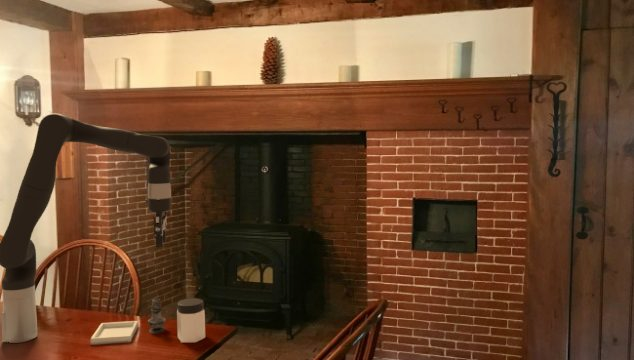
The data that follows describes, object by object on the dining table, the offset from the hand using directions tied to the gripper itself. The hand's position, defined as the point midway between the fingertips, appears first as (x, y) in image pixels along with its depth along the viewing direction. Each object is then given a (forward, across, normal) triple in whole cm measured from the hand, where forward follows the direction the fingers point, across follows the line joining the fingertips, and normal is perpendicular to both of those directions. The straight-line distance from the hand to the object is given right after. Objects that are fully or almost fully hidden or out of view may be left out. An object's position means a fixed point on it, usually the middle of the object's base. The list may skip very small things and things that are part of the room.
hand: (160, 244), depth 176 cm
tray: (+29, +3, -15) cm, 33 cm away
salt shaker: (+30, +1, -2) cm, 30 cm away
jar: (+29, +10, +10) cm, 33 cm away
